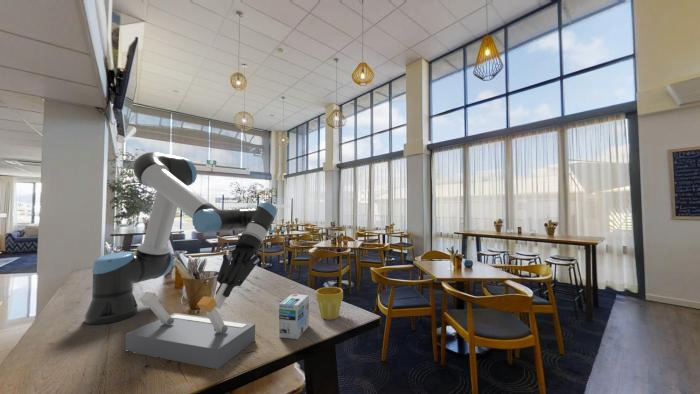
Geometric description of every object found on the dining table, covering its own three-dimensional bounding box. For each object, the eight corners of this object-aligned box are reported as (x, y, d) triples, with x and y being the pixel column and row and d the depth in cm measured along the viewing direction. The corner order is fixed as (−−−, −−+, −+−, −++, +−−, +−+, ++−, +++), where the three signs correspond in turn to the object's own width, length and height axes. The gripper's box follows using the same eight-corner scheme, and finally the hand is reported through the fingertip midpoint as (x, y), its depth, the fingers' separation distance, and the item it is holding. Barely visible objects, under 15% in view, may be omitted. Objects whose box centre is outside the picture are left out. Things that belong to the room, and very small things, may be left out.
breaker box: (125, 351, 79) (125, 332, 79) (174, 327, 95) (174, 312, 95) (217, 369, 70) (217, 348, 71) (255, 340, 86) (255, 323, 86)
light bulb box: (297, 340, 86) (298, 305, 86) (277, 337, 87) (278, 303, 88) (309, 325, 97) (309, 294, 97) (291, 323, 98) (291, 293, 98)
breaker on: (161, 325, 85) (138, 299, 79) (168, 318, 87) (146, 291, 81) (169, 326, 84) (147, 300, 78) (175, 319, 86) (154, 292, 80)
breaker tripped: (214, 333, 80) (197, 303, 74) (220, 326, 82) (203, 296, 76) (223, 335, 79) (206, 305, 73) (229, 327, 81) (213, 297, 75)
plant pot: (310, 317, 104) (310, 291, 104) (328, 309, 112) (328, 285, 112) (330, 324, 97) (331, 296, 98) (348, 315, 106) (348, 289, 106)
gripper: (272, 247, 95) (241, 315, 78) (240, 245, 98) (203, 310, 82) (263, 233, 90) (228, 303, 73) (230, 232, 93) (189, 298, 77)
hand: (215, 306), depth 78 cm, fingers closed
